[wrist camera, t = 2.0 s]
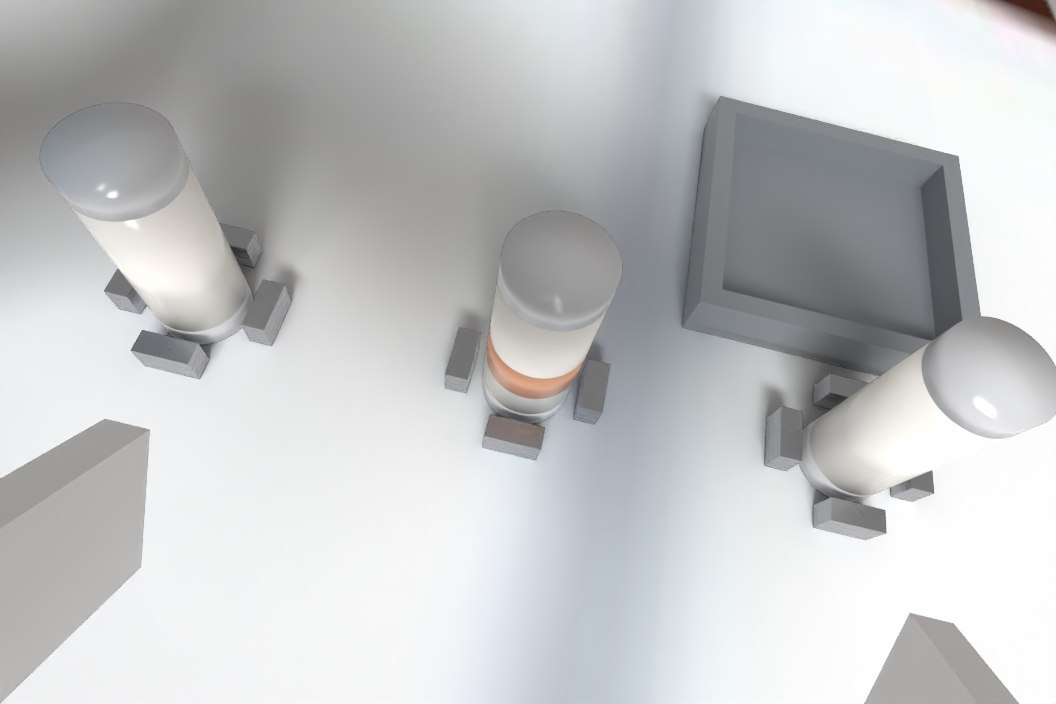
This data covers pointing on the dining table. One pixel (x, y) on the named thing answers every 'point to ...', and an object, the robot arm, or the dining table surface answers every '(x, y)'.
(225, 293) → the plain fuse
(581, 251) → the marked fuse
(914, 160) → the charcoal tray
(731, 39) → the dining table surface
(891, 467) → the plain fuse
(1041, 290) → the dining table surface
